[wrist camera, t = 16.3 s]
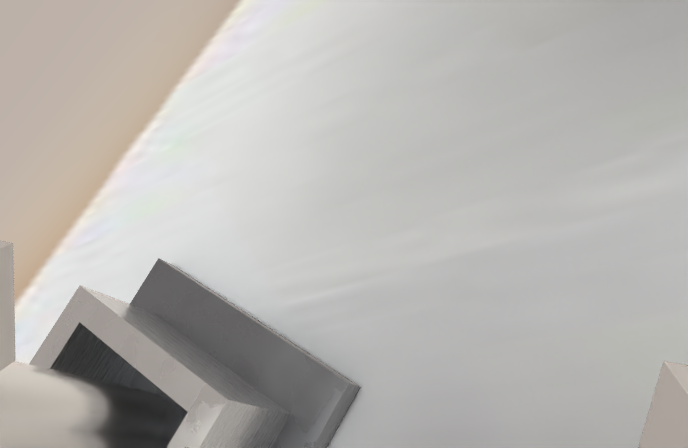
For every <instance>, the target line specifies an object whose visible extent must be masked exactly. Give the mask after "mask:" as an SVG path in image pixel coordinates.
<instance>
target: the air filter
mask: <svg viewBox="0 0 688 448" xmlns="http://www.w3.org/2000/svg"><path fill="white" fill-rule="evenodd" d="M187 413H188V412H187V411H186V410H185V409H184V408H182V407H181V406H180V405H179V404H178V403H176V402H175V401H174V400H173V399H172V398H170V397H169V396H168V395H167V394H166V393H162V392H157V391H152V390H147V389H143V388H138V387H133V386H129V385H124V384H119V383H114V382H110V381H105V380H100V379H95V378H91V377H86V376H81V375H77V374H72V373H67V372H62V371H58V370H53V369H48V368H43V367H39V366H34V365H29V364H25V363H20V362H15V361H14V362H13V363H11V364H10V365H8V366H7V367H5V368H4V369H3V370H1V371H0V448H167V446H168V444H169V443H170V441H171V439H172V438H173V436H174V434H175V433H176V431H177V429H178V428H179V426H180V424H181V423H182V421H183V419H184V418H185V416H186V414H187Z"/></svg>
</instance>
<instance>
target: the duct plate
mask: <svg viewBox="0 0 688 448" xmlns="http://www.w3.org/2000/svg"><path fill="white" fill-rule="evenodd" d="M29 365H34V366H39V367H43V368H48V369H53V370H58V371H62V372H67V373H72V374H77V375H81V376H86V377H91V378H95V379H100V380H105V381H110V382H114V383H119V384H124V385H129V386H133V387H138V388H143V389H147V390H152V391H157V392H162V393H166V394H167V395H168V396H169V397H170V398H172V399H173V400H174V401H175V402H176V403H178V404H179V405H180V406H181V407H182V408H184V409H185V410H186V411H187V412H188V413H187V414H186V416H185V418H184V419H183V421H182V423H181V424H180V426H179V428H178V429H177V431H176V433H175V434H174V436H173V438H172V439H171V441H170V443H169V444H168V446H167V448H326V447H327V446H328V444H329V442H330V440H331V438H332V437H333V435H334V433H335V431H336V430H337V428H338V426H339V424H340V422H341V421H342V419H343V417H344V415H345V414H346V412H347V410H348V408H349V406H350V405H351V403H352V401H353V399H354V398H355V396H356V394H357V392H358V390H359V389H360V387H359V386H358V385H356V384H355V383H353V382H352V381H350V380H349V379H347V378H345V377H344V376H342V375H341V374H339V373H338V372H336V371H335V370H333V369H332V368H330V367H329V366H327V365H325V364H324V363H322V362H321V361H319V360H318V359H316V358H315V357H313V356H312V355H310V354H309V353H307V352H305V351H304V350H302V349H301V348H299V347H298V346H296V345H295V344H293V343H292V342H290V341H289V340H287V339H286V338H284V337H282V336H281V335H279V334H278V333H276V332H275V331H273V330H272V329H270V328H269V327H267V326H266V325H264V324H262V323H261V322H259V321H258V320H256V319H255V318H253V317H252V316H250V315H249V314H247V313H246V312H244V311H242V310H241V309H239V308H238V307H236V306H235V305H233V304H232V303H230V302H229V301H227V300H226V299H224V298H223V297H221V296H219V295H218V294H216V293H215V292H213V291H212V290H210V289H209V288H207V287H206V286H204V285H203V284H201V283H199V282H198V281H196V280H195V279H193V278H192V277H190V276H189V275H187V274H186V273H184V272H183V271H181V270H179V269H178V268H176V267H175V266H173V265H171V264H169V263H167V262H165V261H163V260H161V259H158V260H157V262H156V263H155V265H154V267H153V268H152V270H151V271H150V273H149V275H148V276H147V278H146V279H145V281H144V283H143V284H142V286H141V287H140V289H139V291H138V292H137V294H136V295H135V297H134V298H133V300H132V302H131V303H130V304H128V303H125V302H123V301H120V300H117V299H115V298H112V297H109V296H107V295H104V294H101V293H99V292H96V291H93V290H91V289H88V288H85V287H83V286H79V288H78V289H77V291H76V292H75V294H74V295H73V297H72V299H71V300H70V302H69V303H68V305H67V306H66V308H65V309H64V311H63V312H62V314H61V316H60V317H59V319H58V320H57V322H56V323H55V325H54V326H53V328H52V330H51V331H50V333H49V334H48V336H47V337H46V339H45V340H44V342H43V344H42V345H41V347H40V348H39V350H38V351H37V353H36V354H35V356H34V358H33V359H32V361H31V362H30V364H29Z"/></svg>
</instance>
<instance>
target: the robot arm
mask: <svg viewBox="0 0 688 448" xmlns="http://www.w3.org/2000/svg"><path fill="white" fill-rule="evenodd" d="M14 361H15V313H14V260H13V243H10V242H5V241H0V371H1V370H3V369H4V368H5V367H7V366H8V365H10V364H11V363H13V362H14ZM638 448H688V365H683V364H677V363H671V362H666V361H664V362H663V365H662V369H661V372H660V375H659V379H658V382H657V386H656V389H655V392H654V396H653V399H652V403H651V406H650V409H649V413H648V416H647V420H646V423H645V426H644V430H643V433H642V437H641V440H640V443H639V447H638Z"/></svg>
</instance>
